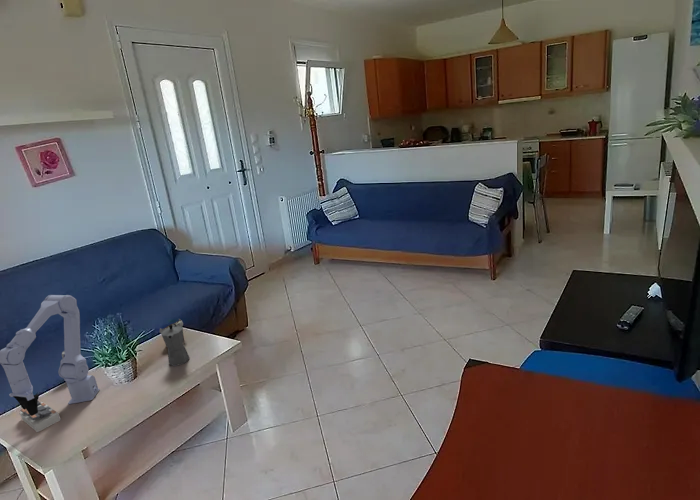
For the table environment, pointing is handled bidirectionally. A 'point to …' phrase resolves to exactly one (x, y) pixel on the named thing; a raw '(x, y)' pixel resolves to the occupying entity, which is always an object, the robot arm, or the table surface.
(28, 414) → the rocker
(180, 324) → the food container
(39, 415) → the rocker
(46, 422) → the switch unit
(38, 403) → the rocker
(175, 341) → the coffeepot
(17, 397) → the robot arm
